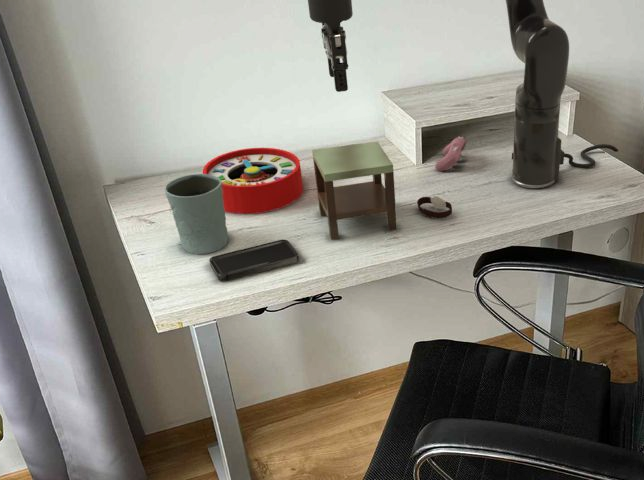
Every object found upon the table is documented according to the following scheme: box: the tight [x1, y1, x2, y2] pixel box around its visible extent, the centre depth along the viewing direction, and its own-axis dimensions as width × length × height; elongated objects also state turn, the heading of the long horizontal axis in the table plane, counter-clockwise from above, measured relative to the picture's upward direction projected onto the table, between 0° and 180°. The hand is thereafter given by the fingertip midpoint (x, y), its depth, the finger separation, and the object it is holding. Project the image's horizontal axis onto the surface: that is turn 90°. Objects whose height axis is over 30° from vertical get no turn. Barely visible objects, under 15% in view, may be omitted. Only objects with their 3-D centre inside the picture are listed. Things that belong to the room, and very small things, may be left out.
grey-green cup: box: [164, 173, 229, 255], centre depth 152 cm, size 10×10×12 cm
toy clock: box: [202, 147, 304, 215], centre depth 171 cm, size 20×6×20 cm
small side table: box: [311, 140, 398, 241], centre depth 158 cm, size 13×12×14 cm
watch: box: [416, 194, 453, 219], centre depth 163 cm, size 8×5×4 cm, turn 59°
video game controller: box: [435, 135, 468, 172], centre depth 182 cm, size 10×5×7 cm, turn 168°
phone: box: [208, 239, 300, 282], centre depth 149 cm, size 8×1×15 cm
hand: (338, 83), depth 150 cm, fingers open, 8 cm apart
